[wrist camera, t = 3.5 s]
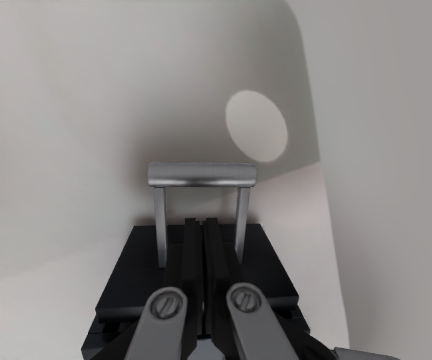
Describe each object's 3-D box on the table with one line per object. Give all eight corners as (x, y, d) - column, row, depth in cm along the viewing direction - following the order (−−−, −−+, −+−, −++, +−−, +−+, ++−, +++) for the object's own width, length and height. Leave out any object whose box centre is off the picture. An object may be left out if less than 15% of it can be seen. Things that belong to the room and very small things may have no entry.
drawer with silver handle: (124, 143, 16) (65, 181, 8) (270, 147, 17) (329, 182, 10) (146, 341, 24) (126, 447, 16) (244, 333, 25) (265, 429, 18)
